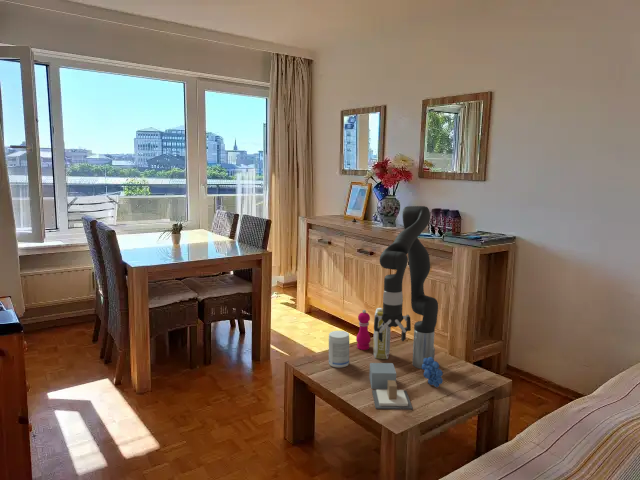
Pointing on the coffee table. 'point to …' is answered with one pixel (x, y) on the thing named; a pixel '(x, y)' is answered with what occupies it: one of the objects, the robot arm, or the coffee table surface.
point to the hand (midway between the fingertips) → (391, 340)
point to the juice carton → (383, 347)
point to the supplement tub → (338, 349)
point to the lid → (391, 395)
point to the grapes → (432, 371)
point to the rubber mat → (391, 406)
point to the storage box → (381, 375)
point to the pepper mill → (363, 331)
